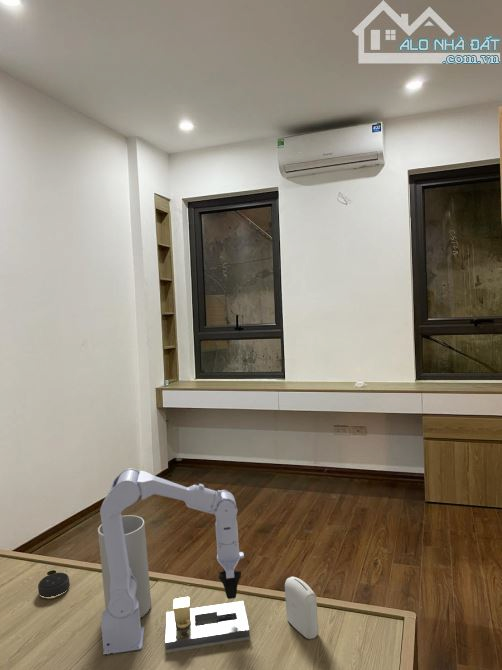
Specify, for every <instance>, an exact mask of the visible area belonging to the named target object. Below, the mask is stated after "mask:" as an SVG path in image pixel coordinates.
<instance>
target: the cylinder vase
mask: <svg viewBox="0 0 502 670" xmlns="http://www.w3.org/2000/svg"><path fill="white" fill-rule="evenodd" d="M121 516H122V523H123V529H124V536H125V542H126V549H127V555H128V562H129V567H130V568H131V570H132V574H133V576H134V577H135V579H136V580H137V584H138V585H137V590H136V594H135V597H136V599H137V601H138V602H139V612H140V619H142V618H143V617H145V614H146V615H147V614H148V612H149V611H150V610H149V609H151V606H152V596H151V595H152V594H151V585H150V583H151V582H150V572H149V562H148V551H147V548H148V547H147V539H146V527H145V520H144V518H143V517H141V516H138V515H134V514H133V515H132V514H131V515H121ZM97 532H98V543H99V555H100V564H101V574H102V575H101V576H102V577H101V578H102V585H103V587H102V588H103V594H104V595H103V596H104V606H105V609H104V610H106V609H108V604H109V600H110V572H109V566H108V559H107V553H106V547H105V540H104V534H103V528H102V523H101V524H100V525H99V527H98V528H97ZM141 617H142V618H141Z"/></svg>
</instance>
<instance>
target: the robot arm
mask: <svg viewBox="0 0 502 670" xmlns="http://www.w3.org/2000/svg"><path fill="white" fill-rule="evenodd" d="M153 495H156V496H160V497H161V496H162V497H166V498H170V499H175V500H177V501H183V502H184V504H185V505H186V507H187V508H190V509H193V510H196V511H200V512H202V513H207V514H211V515H214V516H215V523H214V525H215V537H216V553H217V555H216V560H217V562H218V563H219V564H220V566H221V567H222V570H223V571H219V572H218V578H219V581H220V582H221V583H222V585H223V588H224V592H225V595H226V598H227V600H231V599H232V600H233V599H236V597H237V593H238V585H239V582H240V580H241V578H242V571H241V570H238V571H236V568H237V566H238V563H239V561H240V560H241V559H244V558H245V555H244V551H240V546H239V545H240V544H239V530H238V529H239V528H238V521H237V518H238V517H237V514H238V510H239V509H238V507H237V501H236V499H235V496H234V495H233V493H232V492H230V491H229V490H227V489H221V490H219V489H218V490H214V489H211V488H207V487H205V484H203V483H198V485H197V484H193V485H190V486H188V487H187V486H184V485H182V484H179V483H175V482H173V481H171V480H168V479H165V478H162V477H159V476H157V475H153V474H151V473H150V472H147V471H146V470H138V469H136V468H133V467H131V468H126V469H124V470H123V471H121V472H120V473H119V474H118V475H117V476H116V477H115V478H114V480H113V482H112V484H111V486H110V488H109V490H108V492H107V494H106V496H105V498H104V499H103V502H102V504H101V506H100V509H99V515H100V521H101V524H102V528H103V534H104V540H105V547H106V553H107V559H108V566H109V572H110V600H109V604H108V609H104V610H102V615H101V623H100V624H101V636H102V650H103V651H102V653H103V654H102V655H104V654H107V655H111V654H110V653H113V654H119V653H125V652H131V651H137V650H141V649H143V643H144V634H145V627H144V626H141V618H140V612H139V602H138V601H137V599H136V597H135V594H136V590H137V585H138V584H137V580H136V579H135V577H134V576H133V574H132V570H131V568H130V567H129V562H128V555H127V549H126V542H125V536H124V529H123V523H122V516H123V515H122V512H123V511H124V510H125V509H127V508H128V507H130V506H132V505H133V504H135V503H136V502H137V501H138V500H139V498H140V496H141V500H142V501H143V500H145V499H147V498H149V497H151V496H153ZM109 651H110V652H109Z"/></svg>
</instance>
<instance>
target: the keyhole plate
mask: <svg viewBox="0 0 502 670" xmlns="http://www.w3.org/2000/svg"><path fill="white" fill-rule="evenodd" d="M247 616H248V615H247V612H246V607H245V603H244V600H239V601H233V602H226V603H219V604H213V605H212V604H211V605H205V606H200V607H192V608H191V607H190V618H191V625H190V626H189V627H188V628H186V629H178V628H176V624H175V622H176V621H175V618H174V610H172V611H167V612H166V618H165V620H166V621H165V635H164V636H165V639H164V644H165V645H164V647H165V654H168V653H170V654H171V653H175V652H181V651H187V650H193V649H194V650H195V649H201V648H205V647H207V648H208V647H212V646H214V647H215V646H218V645H226V644H231V643H238V642H239V643H240V642H243V641H244V642H245V641H250V639H251V637H250V636H251V635H250V626H249V622H248V617H247Z"/></svg>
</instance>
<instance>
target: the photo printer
mask: <svg viewBox="0 0 502 670" xmlns="http://www.w3.org/2000/svg"><path fill="white" fill-rule="evenodd" d="M284 594H285V595H284V597H285V608H286V611H285V612H286V619H287V621H288V622H289V624H291V625H292V627H293V628H295V630H296V631H298V632H299V633H300V634H301V635H302V636H303V637H305V638H306V639H309V640H311V639H312V640H313V639H315V638H316V637H317V636H318V634H319V621H318V618H319V617H318V616H319V615H318V605H317V596H316V594H315V592H314V591H313V590H312V588H311V587H310V586H309V585H308V584H307V583H306V582H305V581H304V580H302V579H301V578H298V577H296V576H290V577H288V578H287V579H286V580H285V583H284Z"/></svg>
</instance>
